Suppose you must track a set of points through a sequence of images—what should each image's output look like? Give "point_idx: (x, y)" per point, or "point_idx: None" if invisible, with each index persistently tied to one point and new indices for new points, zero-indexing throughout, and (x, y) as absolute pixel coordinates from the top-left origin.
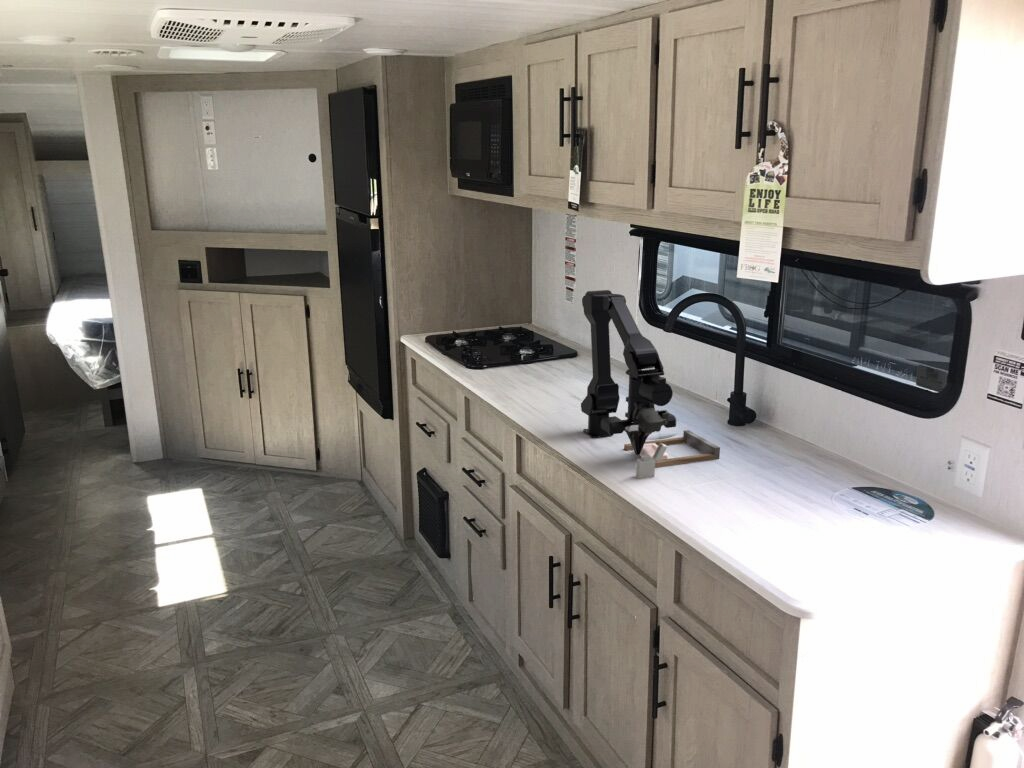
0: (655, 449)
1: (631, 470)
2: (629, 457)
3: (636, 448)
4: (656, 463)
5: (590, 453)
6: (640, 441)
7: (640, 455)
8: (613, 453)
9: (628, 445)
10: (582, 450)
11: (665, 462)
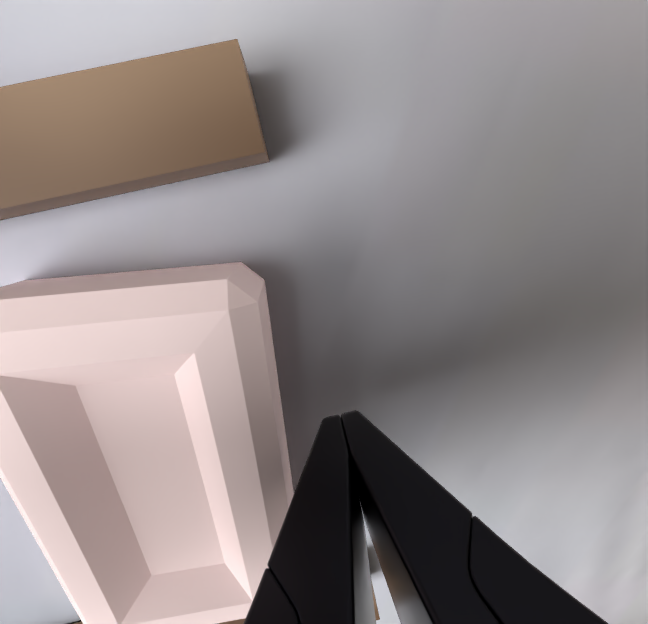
0: (110, 513)
1: (541, 32)
2: (397, 422)
3: (400, 457)
4: (171, 62)
5: (632, 502)
6: (359, 603)
7: (288, 455)
8: (483, 501)
9: None
10: (644, 545)
11: (4, 92)
